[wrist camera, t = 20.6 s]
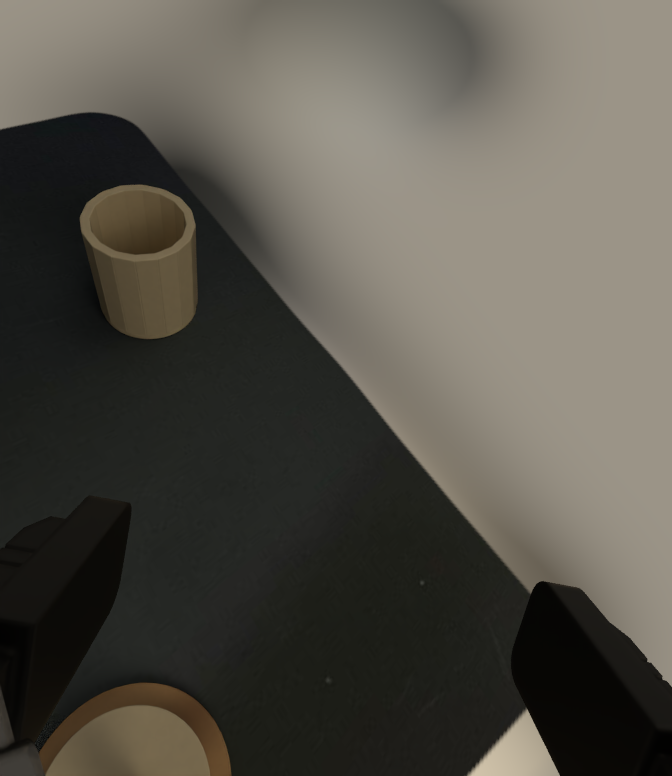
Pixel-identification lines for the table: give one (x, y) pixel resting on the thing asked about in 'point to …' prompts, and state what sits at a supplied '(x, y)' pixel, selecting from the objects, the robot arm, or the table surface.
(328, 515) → the table surface
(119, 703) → the cork mat
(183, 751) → the crock lid
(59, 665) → the robot arm
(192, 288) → the crock
